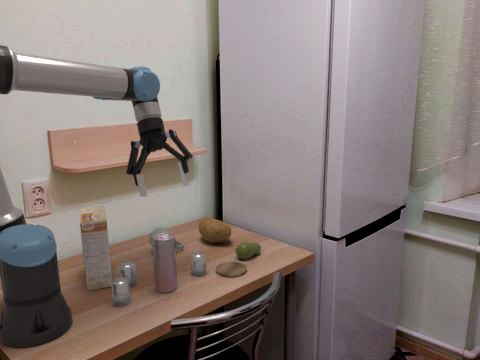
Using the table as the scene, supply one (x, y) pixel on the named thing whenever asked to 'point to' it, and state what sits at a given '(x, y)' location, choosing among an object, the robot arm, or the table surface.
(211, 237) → the potato
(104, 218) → the coffeecake box
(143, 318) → the table surface
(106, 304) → the table surface
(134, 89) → the robot arm
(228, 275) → the coaster
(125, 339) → the table surface
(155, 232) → the ceramic mug
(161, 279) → the beverage can
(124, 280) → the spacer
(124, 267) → the cylinder
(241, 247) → the pear
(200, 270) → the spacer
